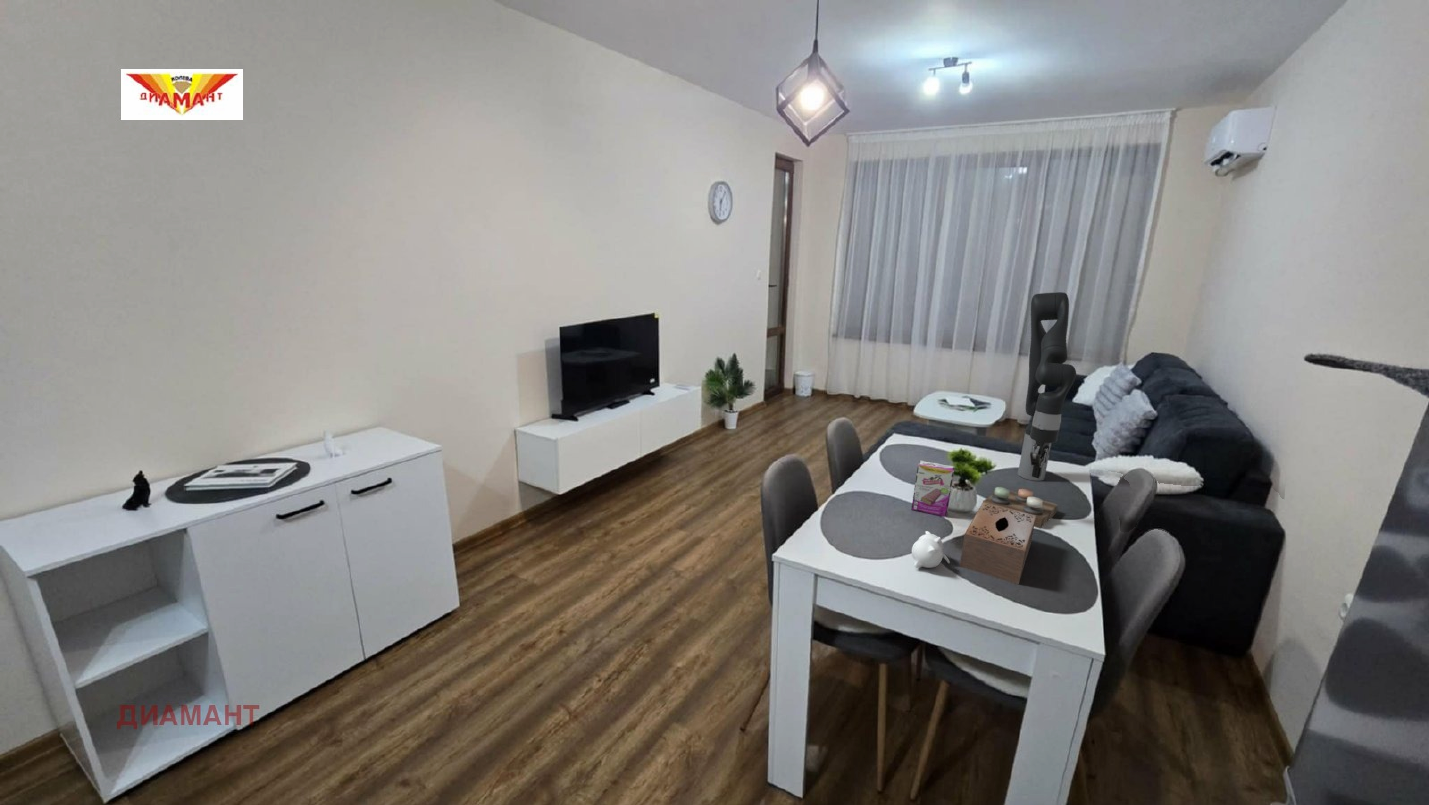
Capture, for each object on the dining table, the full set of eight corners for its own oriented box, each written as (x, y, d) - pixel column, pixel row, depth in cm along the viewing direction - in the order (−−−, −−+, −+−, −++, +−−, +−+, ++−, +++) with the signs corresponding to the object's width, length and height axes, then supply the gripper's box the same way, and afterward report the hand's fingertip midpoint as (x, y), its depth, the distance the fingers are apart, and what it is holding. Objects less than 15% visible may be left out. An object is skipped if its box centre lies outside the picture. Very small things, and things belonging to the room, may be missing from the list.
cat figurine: (930, 521, 158) (924, 537, 147) (961, 548, 155) (957, 567, 144) (909, 541, 161) (902, 558, 151) (939, 568, 159) (934, 587, 148)
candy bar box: (910, 510, 186) (917, 464, 182) (912, 505, 190) (918, 459, 186) (947, 518, 181) (954, 470, 177) (947, 512, 186) (954, 465, 182)
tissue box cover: (1018, 585, 145) (1025, 550, 142) (959, 567, 153) (964, 533, 150) (1030, 546, 166) (1036, 515, 163) (977, 531, 173) (982, 502, 171)
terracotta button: (1020, 493, 193) (1021, 487, 193) (1034, 497, 190) (1035, 491, 190) (1015, 496, 190) (1016, 491, 190) (1029, 500, 187) (1030, 495, 187)
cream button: (1028, 501, 184) (1030, 495, 183) (1043, 505, 181) (1044, 499, 180) (1024, 504, 181) (1025, 499, 180) (1039, 509, 178) (1040, 503, 177)
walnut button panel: (1000, 495, 200) (1002, 485, 199) (1056, 512, 188) (1058, 502, 187) (981, 509, 189) (983, 498, 188) (1040, 528, 176) (1042, 516, 175)
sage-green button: (997, 491, 191) (998, 486, 190) (1010, 495, 188) (1011, 490, 187) (992, 494, 188) (993, 489, 187) (1006, 499, 185) (1007, 493, 184)
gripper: (1039, 419, 184) (1030, 469, 188) (1025, 426, 175) (1016, 478, 179) (1065, 424, 178) (1055, 475, 183) (1052, 432, 170) (1042, 485, 174)
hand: (1035, 476), depth 181 cm, fingers closed
